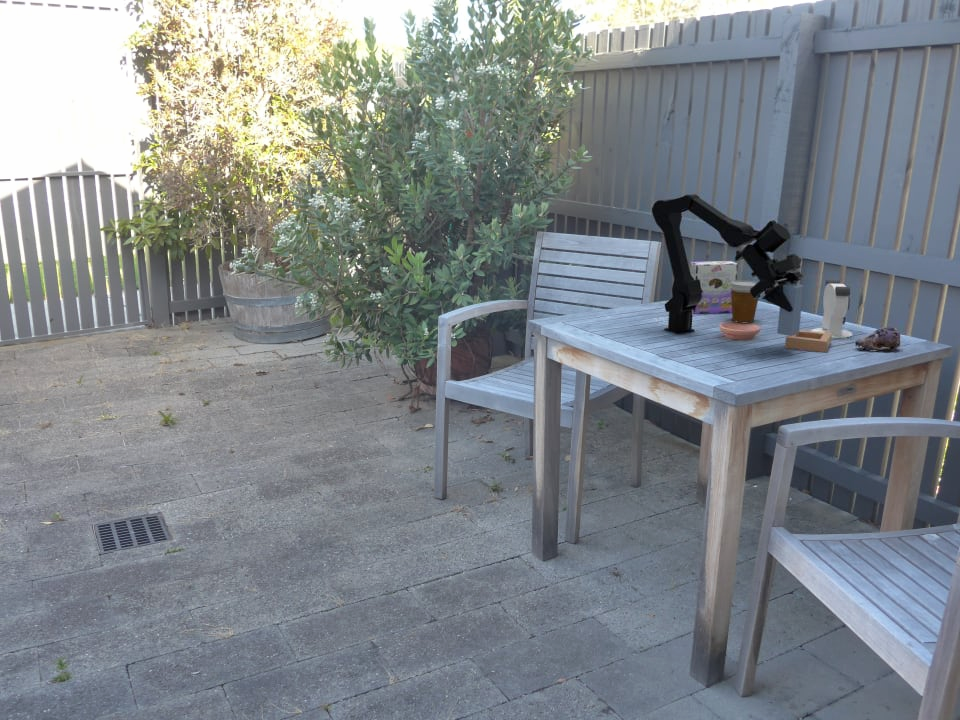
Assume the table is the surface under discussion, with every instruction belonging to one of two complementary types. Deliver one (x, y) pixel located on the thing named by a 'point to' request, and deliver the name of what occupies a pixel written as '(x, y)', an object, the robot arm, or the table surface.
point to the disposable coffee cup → (743, 301)
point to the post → (791, 320)
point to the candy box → (714, 285)
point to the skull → (881, 339)
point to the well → (809, 341)
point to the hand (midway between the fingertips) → (795, 309)
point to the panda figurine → (835, 309)
